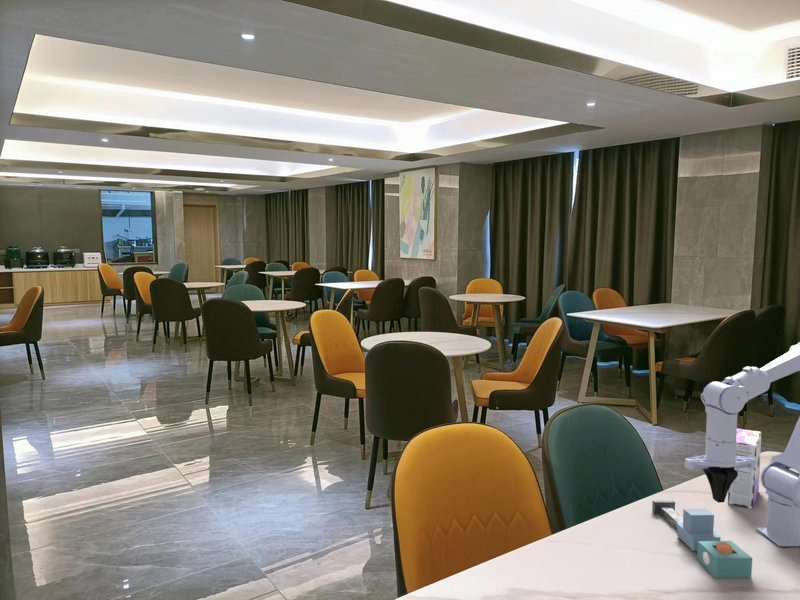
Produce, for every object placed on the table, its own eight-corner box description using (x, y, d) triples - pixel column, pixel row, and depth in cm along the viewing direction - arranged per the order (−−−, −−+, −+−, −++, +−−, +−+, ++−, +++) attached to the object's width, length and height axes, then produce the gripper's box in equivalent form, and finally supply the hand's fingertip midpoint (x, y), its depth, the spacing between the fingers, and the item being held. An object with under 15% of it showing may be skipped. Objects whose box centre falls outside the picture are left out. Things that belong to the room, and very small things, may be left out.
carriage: (702, 535, 134) (703, 504, 134) (719, 550, 127) (721, 518, 127) (675, 535, 134) (677, 505, 134) (692, 551, 127) (693, 519, 127)
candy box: (734, 486, 163) (737, 427, 162) (759, 491, 160) (762, 431, 158) (726, 504, 152) (729, 440, 150) (753, 510, 148) (756, 444, 147)
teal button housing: (730, 559, 124) (731, 540, 124) (751, 577, 118) (752, 557, 117) (696, 559, 124) (697, 541, 124) (715, 578, 117) (716, 558, 117)
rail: (672, 511, 147) (672, 500, 147) (721, 555, 126) (722, 541, 126) (652, 512, 147) (652, 500, 147) (698, 556, 126) (698, 542, 126)
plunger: (726, 561, 122) (727, 542, 122) (734, 568, 119) (735, 549, 119) (712, 561, 122) (713, 542, 122) (720, 569, 119) (721, 549, 119)
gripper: (742, 432, 133) (739, 492, 134) (678, 433, 132) (676, 493, 133) (763, 442, 126) (760, 505, 127) (695, 444, 125) (693, 507, 126)
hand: (718, 500), depth 129 cm, fingers closed
